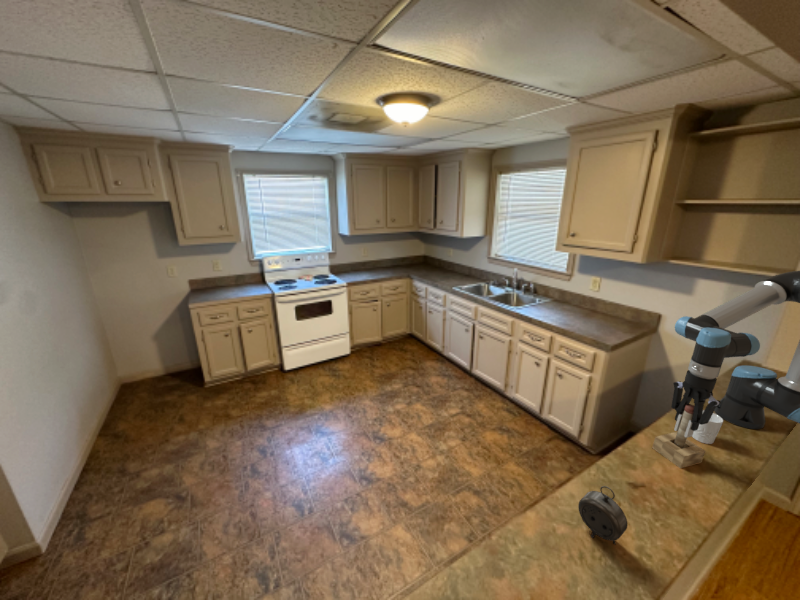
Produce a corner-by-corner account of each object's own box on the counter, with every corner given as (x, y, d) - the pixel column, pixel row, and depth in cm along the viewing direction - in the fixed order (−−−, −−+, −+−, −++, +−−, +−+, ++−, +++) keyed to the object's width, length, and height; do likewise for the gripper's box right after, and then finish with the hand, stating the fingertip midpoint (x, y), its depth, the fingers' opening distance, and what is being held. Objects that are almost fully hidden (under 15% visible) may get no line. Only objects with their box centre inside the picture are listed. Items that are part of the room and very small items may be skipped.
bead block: (672, 442, 126) (675, 431, 124) (701, 462, 117) (705, 450, 115) (652, 447, 123) (655, 436, 122) (680, 468, 114) (684, 456, 112)
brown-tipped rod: (677, 441, 120) (689, 403, 115) (686, 447, 117) (699, 408, 113) (671, 442, 119) (683, 404, 115) (680, 448, 117) (692, 409, 112)
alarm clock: (622, 544, 89) (636, 497, 84) (613, 556, 86) (626, 508, 81) (581, 513, 97) (592, 469, 92) (571, 523, 94) (581, 478, 89)
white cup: (720, 446, 124) (728, 424, 121) (696, 443, 126) (704, 421, 123) (706, 432, 131) (714, 411, 128) (683, 429, 133) (690, 408, 130)
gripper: (669, 364, 116) (652, 420, 123) (721, 388, 102) (699, 450, 109) (685, 361, 118) (668, 417, 125) (738, 384, 104) (716, 446, 111)
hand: (682, 432), depth 117 cm, fingers closed on brown-tipped rod, 3 cm apart
